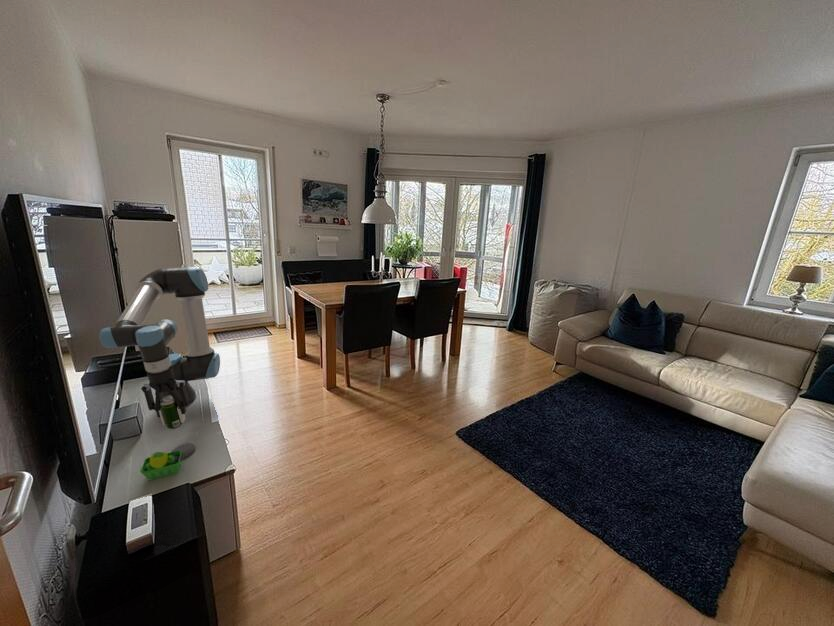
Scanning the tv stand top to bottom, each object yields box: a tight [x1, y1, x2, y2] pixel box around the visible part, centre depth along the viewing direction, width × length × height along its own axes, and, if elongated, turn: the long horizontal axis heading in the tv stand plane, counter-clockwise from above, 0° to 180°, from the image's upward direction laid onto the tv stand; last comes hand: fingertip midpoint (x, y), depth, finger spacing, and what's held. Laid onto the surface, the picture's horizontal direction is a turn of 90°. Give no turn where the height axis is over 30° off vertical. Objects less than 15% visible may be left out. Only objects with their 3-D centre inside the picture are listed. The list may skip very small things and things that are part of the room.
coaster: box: [171, 442, 196, 461], centre depth 137 cm, size 8×8×1 cm
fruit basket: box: [139, 450, 181, 481], centre depth 126 cm, size 11×9×11 cm
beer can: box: [160, 395, 184, 430], centre depth 131 cm, size 5×5×12 cm
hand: (174, 421), depth 132 cm, fingers closed on beer can, 5 cm apart
